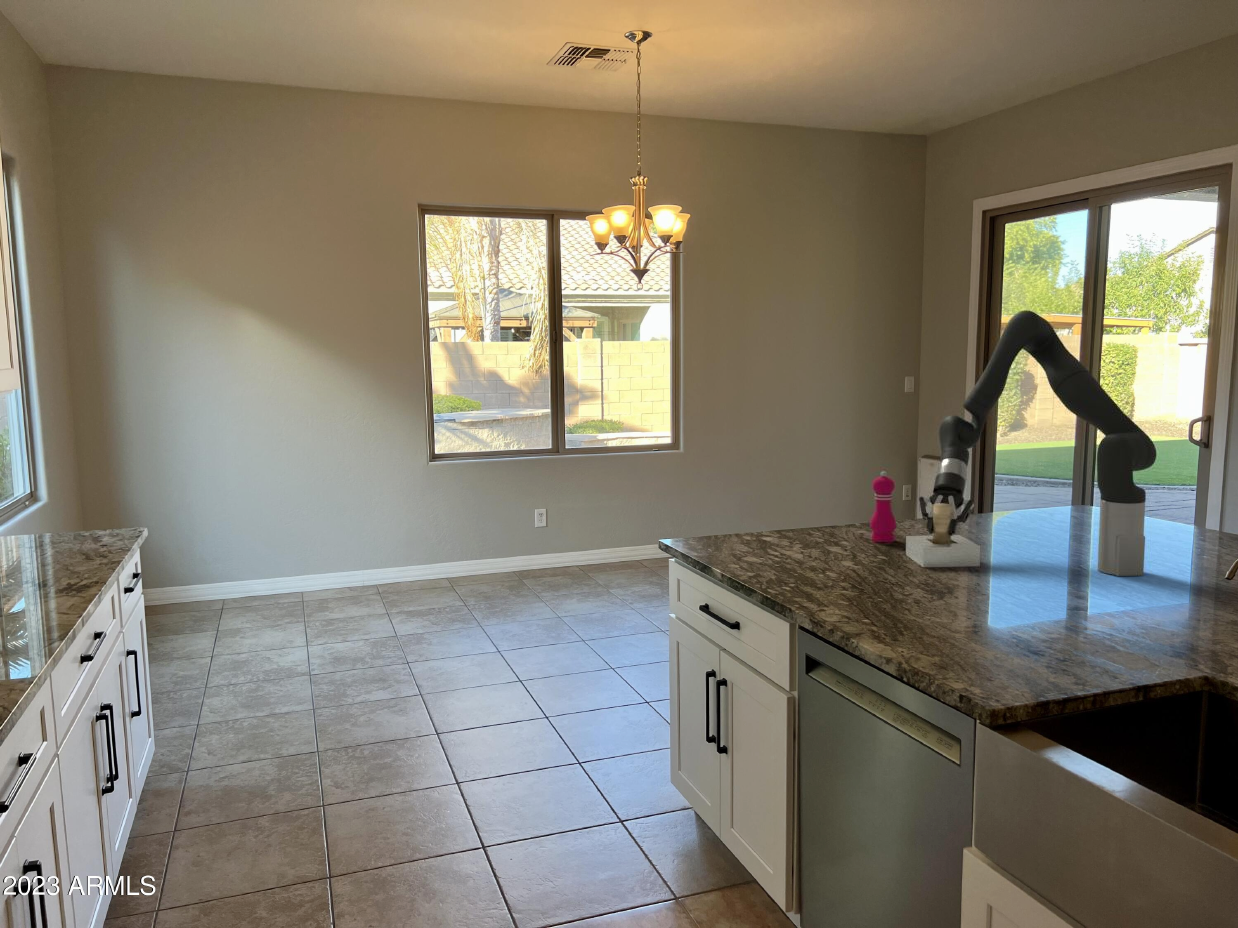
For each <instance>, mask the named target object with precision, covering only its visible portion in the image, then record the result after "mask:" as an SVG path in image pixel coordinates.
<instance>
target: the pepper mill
mask: <svg viewBox="0 0 1238 928" xmlns="http://www.w3.org/2000/svg"><path fill="white" fill-rule="evenodd" d="M879 475H880V476H879V477H876V478H875V479H874V480H873V482H872V489H873V491H874V499H875V508H874V509H875V510H874V512H873V515H872V517H871V519H870V523H869V527H870V530H872V532H873V533H871V541H872V540H873V541H872V542H875V543H882V542H888V543H893V542H894V541H895V534H894V532H895V530H896V529H897V522H896V519H895V517H894V514H893V511H892V507H891V506H892V505H891V504H892V500H893V496H894V495H893V493H892V492H893V491H894V489H895V486H896V485H895V481H894V480H893V479H892V478H890V477H888V474H887V472H886V471H881V472H880V474H879Z"/></svg>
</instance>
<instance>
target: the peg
mask: <svg viewBox="0 0 1238 928" xmlns="http://www.w3.org/2000/svg"><path fill="white" fill-rule="evenodd" d="M932 506H933V533H932V536H933V544H951V536H950V535H949V527H950V521H951V519H952V505H950V504H943V503H938V504H933V505H932Z"/></svg>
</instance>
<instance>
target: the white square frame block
mask: <svg viewBox="0 0 1238 928" xmlns="http://www.w3.org/2000/svg"><path fill="white" fill-rule="evenodd" d="M905 555H906V556H907V557H908V558H910V559H911V560H913V561H914V562H915V563H916V564H918V565H919V566H920V567H922V568H952V567H953V568H956V567H957V568H959V567H980V565H981V564H980V563H981V546H980V545H978V544H976V543H975V542H973V541H971V540H969V539H968V538H965V537H963V536H962V535H961V534H953V536H951V544H933V535H907V536H905Z"/></svg>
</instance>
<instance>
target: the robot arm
mask: <svg viewBox="0 0 1238 928" xmlns="http://www.w3.org/2000/svg"><path fill="white" fill-rule="evenodd" d="M1022 350H1024V351H1025V352H1026V353H1028V354H1029V355H1030V356H1031V357H1032V358H1033V359H1034V360H1035V362H1037V363H1038V364H1039V366H1041V368H1042V369H1043V371H1044V373H1045V375H1046V379H1047V382H1048V383H1049V386H1050V388H1051V389H1052V391H1053V393H1054V394H1055V396H1056V397H1057V398H1058V399H1059V401H1060V402H1061V403H1062V404H1063V406H1064V407H1065V408H1066V409H1067V411H1069V412H1070V413H1071V414H1073V415H1075V416H1076V417H1078V418H1079V419H1081V420H1083V421H1085V422H1086V423H1088V424H1089V425H1091V426H1093V427H1094V428H1096V429H1098V430H1099V432H1101V433H1102V434H1103V435H1104V437H1103V438H1102V439H1101V440H1100V442H1099V444H1098V446H1097V452H1096V484H1097V487H1098V489H1099V493H1100V501H1099V502H1100V503H1099V504H1100V505H1099V522H1098V523H1099V527H1098V545H1097V546H1098V547H1097V548H1098V550H1097V552H1098V553H1097V570H1098V571H1099V572H1102V573H1104V574H1109V575H1114V576H1117V577H1124V576H1126V577H1127V576H1129V577H1131V576H1132V577H1133V576H1135V577H1136V576H1144V569H1145V553H1146V552H1145V549H1146V536H1145V534H1144V533H1145V517H1146V515H1145V514H1146V500H1147V499H1146V495H1147V494H1146V490H1145V489H1144V488H1143V487H1141V486H1138V485H1137V484H1135V482H1134V472H1140V471H1143V470H1146V469H1149V468H1151V467H1152V466H1153V465H1154V464H1155V462H1156V460H1157V448H1156V446H1155V444H1154V442H1153V440H1152V439H1151V437H1150V436H1149V435H1148V434H1147V433H1146V432H1145V431H1144V430H1143V429H1141V427H1140V426H1138V425H1137V424H1136V423H1135V422H1134V421H1133V420H1132V419H1131V418H1130V417H1129V415H1126V413H1125V412H1124V411H1123V410H1122V409H1121V408H1120V406H1118V404H1117V403H1116V402H1115V400H1114V399H1112V397H1111V396H1110V395H1109V394H1108V393H1107V392H1106V391H1105V389H1104V388H1103V386H1101V384H1100V383H1099V381H1097V379H1096V378H1095V377H1094V376H1093V375H1092V373H1091V372H1090V371H1089V370H1088V368H1086V367H1085V365H1084V364H1082V363H1081V361H1080V360H1079V359H1077V357H1075V356H1074V355H1073V354H1072V352H1070V351H1069V350H1068V349H1067V347H1066V346H1065V345H1064V343H1063V342H1062V340H1061V339H1060V337H1059V335H1058V334H1057V332H1056V330H1055V329H1054V328H1053V325H1051V323H1050V322H1049V321H1048V320H1047V319H1046V318H1044V317H1042V316H1041V315H1039V314H1038V313H1036V312H1035V311H1031V310H1026V309H1025V310H1021V311H1018V312H1017V313H1015V314H1014V315H1013V316H1012V317H1011V318H1010V319H1009V320H1008V322H1007V324H1006V325H1005V328H1003V332H1002V334H1001V336H1000V338H999V340H998V343H997V345H996V347H995V349H994V351H993V353H992V354H991V357H990V359H989V361H988V363H987V365H986V367H985V369H984V371H983V372H982V374H981V376H980V377H979V378H978V381H977V382H976V384H975V385H974V386H973V388H972V390H971V391H970V392H969V394H968V395H967V397H966V398H965V400H964V402H963V405H962V406H963V408H964V409H965V410H966V411H967V412H968V413H969V414H970V416H971V421H967V420H966V419H964V418H962V417H960V416H958V415H954V414H950V415H947V416H946V417H945V418H943V420H942V422H941V423H940V426H939V431H938V435H939V444H940V450H941V455H940V459H939V465H938V467H937V469H936V475H935V479H934V483H933V488H932V489H933V490H932V493H931V495H929V497H924V496H918V497H919V498H918V501H919V506H920V507H919V508H920V512H921V516H922V520H923V521H927V522H926V531H927V532H928V534H929V535H933V504H938V503H943V504H950V505H952V514H951V521H950V527H949V535H950V536H953V535H956V533H957V527H958V525H959V523H963V524H964V523H966V522H967V521H968V519H969V517H970V515H971V514H972V512H973V510H974V509H975V504H974V503H975V502H974V500H973V499H969V500H967V499H965V498H964V495H965V494H964V493H965V488H966V482H967V481H968V480H967V476H968V464H969V460H970V452H969V449H972V448H973V447H975V446H976V445H977V444H978V442H979V440H980V438H981V435H982V432H983V429H984V426H985V423H986V421H987V418H988V415H990V414H989V413H991V411H992V409H993V408H994V407H995V405H996V403H997V402H998V400H999V399H1000V397H1001V396H1002V394H1003V392H1004V390H1005V388H1006V385H1007V380H1008V376H1009V373H1010V370H1011V368H1012V365H1013V363H1014V361H1015V360H1016V358H1017V356H1018V354H1019V353H1020V352H1022ZM930 503H931V505H932V506H931V510H930V511H929V512H927V507H928V506H929V504H930ZM962 506H963V509H962V511H961V513H960V514H959V515H957V514H958V513H957V510H958V509H959V508H960V507H962Z"/></svg>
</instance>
